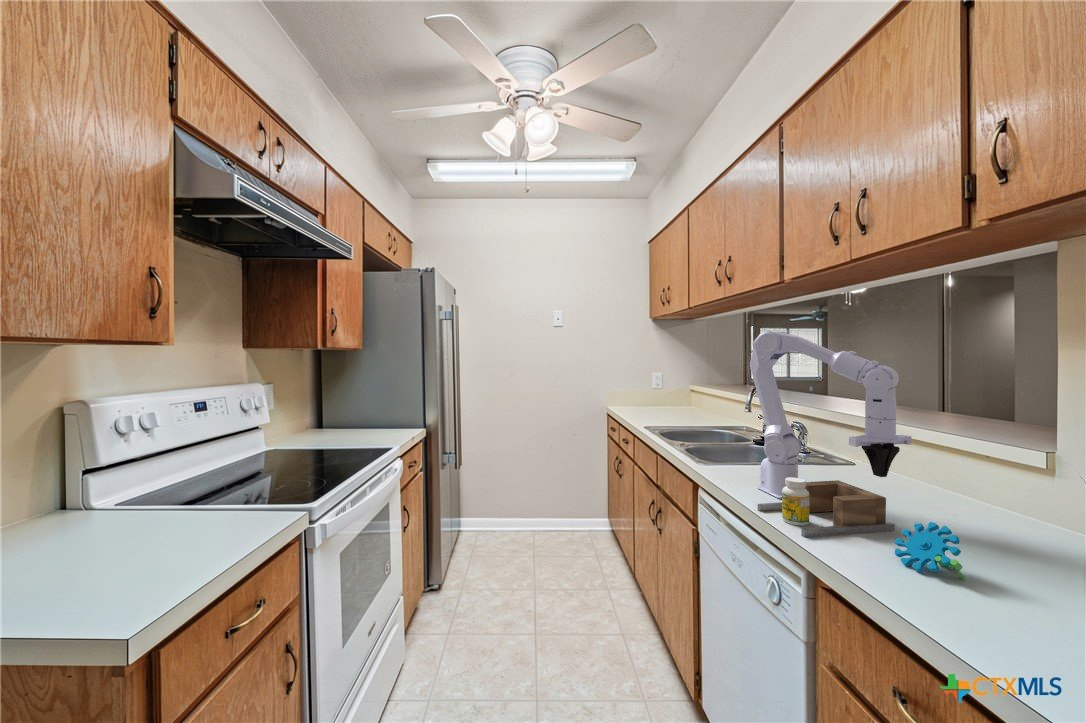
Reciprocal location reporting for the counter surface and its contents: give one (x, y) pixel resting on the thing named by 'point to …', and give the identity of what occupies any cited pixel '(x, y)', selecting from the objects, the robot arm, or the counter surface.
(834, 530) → the guide rails
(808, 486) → the housing
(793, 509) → the supplement bottle
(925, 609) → the counter surface
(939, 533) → the gear
